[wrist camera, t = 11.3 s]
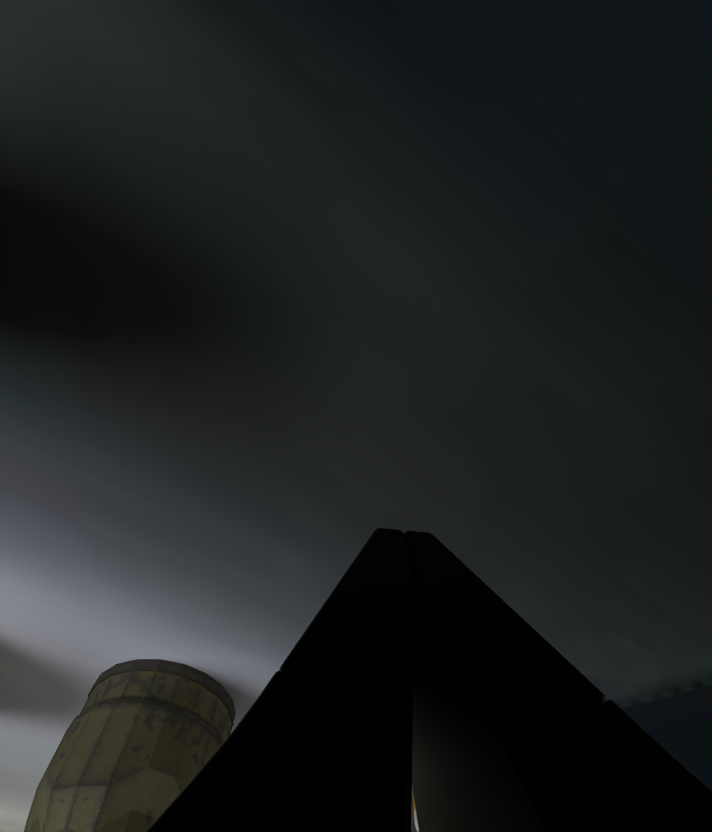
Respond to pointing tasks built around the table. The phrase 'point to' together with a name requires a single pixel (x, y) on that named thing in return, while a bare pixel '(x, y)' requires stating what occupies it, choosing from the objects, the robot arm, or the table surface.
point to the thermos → (132, 748)
